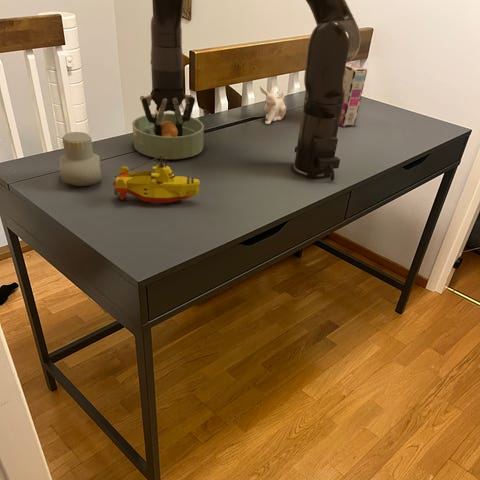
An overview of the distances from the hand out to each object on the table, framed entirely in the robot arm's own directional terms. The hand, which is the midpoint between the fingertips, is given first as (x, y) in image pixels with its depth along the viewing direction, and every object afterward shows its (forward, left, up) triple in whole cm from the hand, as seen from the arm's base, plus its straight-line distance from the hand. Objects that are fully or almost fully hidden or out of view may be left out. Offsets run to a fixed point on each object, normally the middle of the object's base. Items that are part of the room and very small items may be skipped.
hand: (168, 137), depth 124 cm
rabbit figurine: (+19, -38, -3) cm, 42 cm away
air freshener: (-16, +24, -3) cm, 29 cm away
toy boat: (-29, +10, -3) cm, 31 cm away
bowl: (0, 0, -3) cm, 3 cm away
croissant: (0, 0, 0) cm, 1 cm away
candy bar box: (+13, -60, -3) cm, 61 cm away
